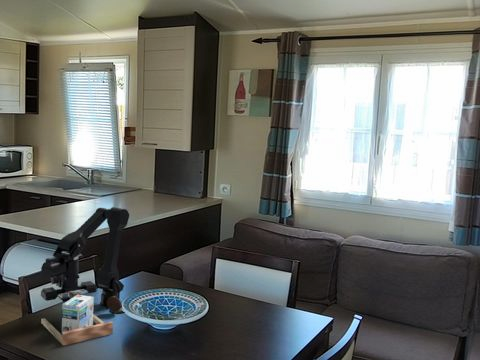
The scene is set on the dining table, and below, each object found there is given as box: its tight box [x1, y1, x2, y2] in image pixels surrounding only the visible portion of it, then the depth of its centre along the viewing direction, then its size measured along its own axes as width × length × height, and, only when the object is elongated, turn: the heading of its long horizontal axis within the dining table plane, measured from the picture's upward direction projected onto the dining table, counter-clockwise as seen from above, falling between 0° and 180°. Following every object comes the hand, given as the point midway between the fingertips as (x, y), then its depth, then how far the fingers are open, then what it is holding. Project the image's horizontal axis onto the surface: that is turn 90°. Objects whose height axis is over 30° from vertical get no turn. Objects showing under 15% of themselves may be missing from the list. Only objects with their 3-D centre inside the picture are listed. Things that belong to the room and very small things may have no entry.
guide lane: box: [40, 313, 114, 346], centre depth 173 cm, size 17×22×4 cm
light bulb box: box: [61, 294, 95, 333], centre depth 172 cm, size 11×7×11 cm, turn 170°
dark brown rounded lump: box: [107, 296, 124, 314], centre depth 191 cm, size 8×8×7 cm
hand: (68, 312), depth 178 cm, fingers closed
